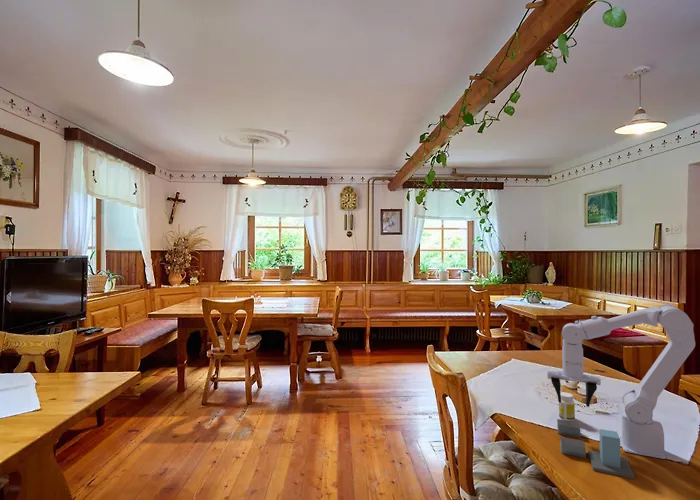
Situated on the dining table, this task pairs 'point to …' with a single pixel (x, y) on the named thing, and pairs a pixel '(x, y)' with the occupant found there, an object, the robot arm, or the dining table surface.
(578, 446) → the vise
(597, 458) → the pad
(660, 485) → the dining table surface
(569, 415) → the supplement bottle
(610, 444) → the peg
